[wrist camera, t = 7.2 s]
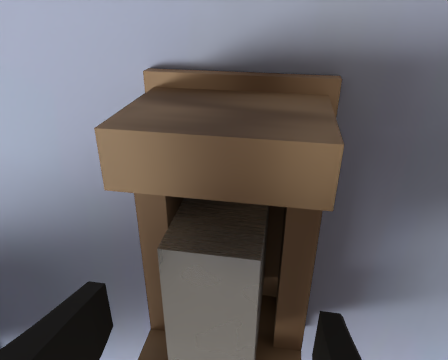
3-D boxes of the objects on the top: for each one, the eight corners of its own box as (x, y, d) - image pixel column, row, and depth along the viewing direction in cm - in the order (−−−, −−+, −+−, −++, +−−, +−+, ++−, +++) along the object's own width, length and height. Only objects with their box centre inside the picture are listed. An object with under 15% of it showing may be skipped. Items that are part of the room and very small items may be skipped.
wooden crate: (169, 308, 21) (132, 404, 16) (148, 68, 15) (77, 106, 10) (302, 327, 20) (305, 435, 15) (339, 75, 14) (364, 123, 9)
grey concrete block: (205, 270, 19) (169, 379, 13) (202, 163, 16) (157, 248, 11) (264, 277, 18) (251, 393, 13) (272, 168, 15) (260, 260, 10)
